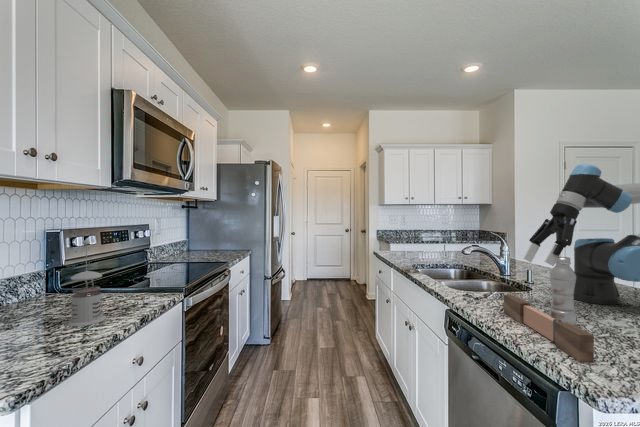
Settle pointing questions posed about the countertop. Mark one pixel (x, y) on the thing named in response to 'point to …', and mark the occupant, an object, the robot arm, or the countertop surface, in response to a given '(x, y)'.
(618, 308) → the countertop surface
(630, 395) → the countertop surface
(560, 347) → the row of wooden blocks
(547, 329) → the gate
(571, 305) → the plastic bottle
